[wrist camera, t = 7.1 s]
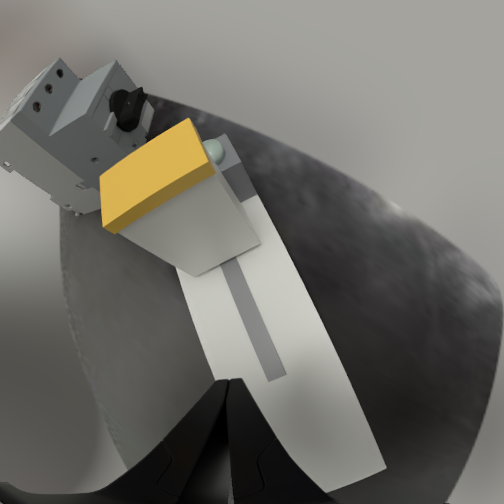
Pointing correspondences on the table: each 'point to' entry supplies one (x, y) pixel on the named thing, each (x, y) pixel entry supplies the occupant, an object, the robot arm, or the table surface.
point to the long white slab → (279, 346)
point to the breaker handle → (176, 203)
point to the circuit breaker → (74, 131)
